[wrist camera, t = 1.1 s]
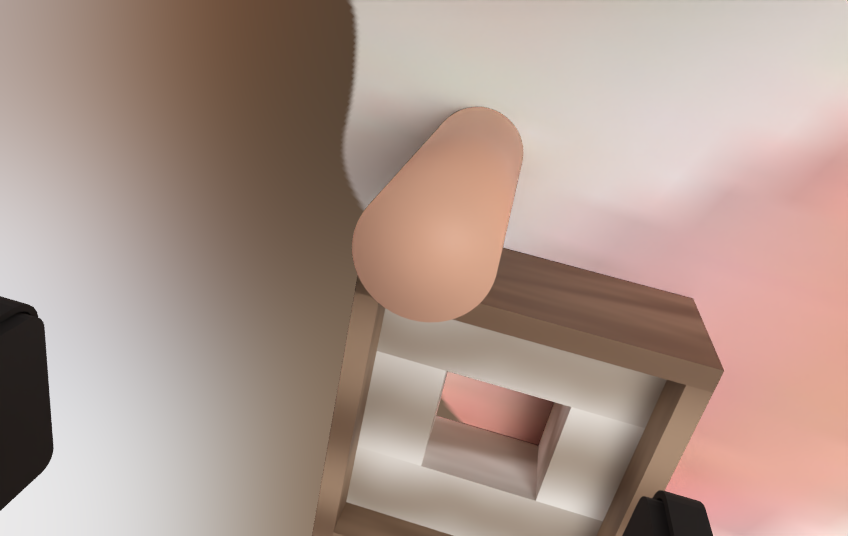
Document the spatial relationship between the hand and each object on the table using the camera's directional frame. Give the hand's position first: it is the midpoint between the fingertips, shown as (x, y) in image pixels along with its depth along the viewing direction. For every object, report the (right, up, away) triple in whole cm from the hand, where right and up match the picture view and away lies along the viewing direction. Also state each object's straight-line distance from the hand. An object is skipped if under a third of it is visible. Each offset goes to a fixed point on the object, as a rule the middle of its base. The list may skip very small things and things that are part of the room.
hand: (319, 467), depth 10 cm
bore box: (+5, -3, +23) cm, 24 cm away
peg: (+4, +8, +18) cm, 20 cm away
